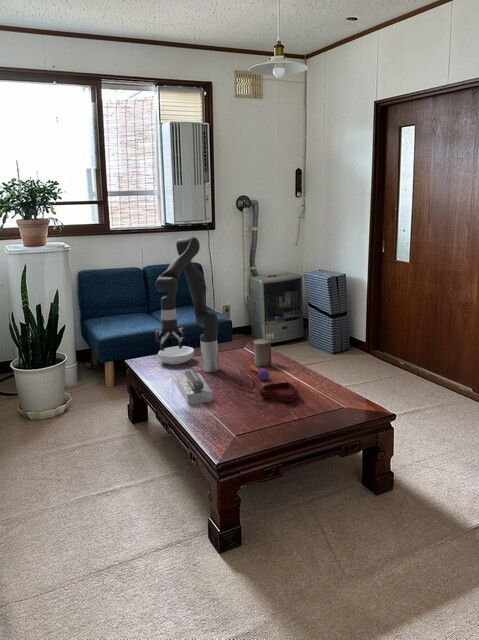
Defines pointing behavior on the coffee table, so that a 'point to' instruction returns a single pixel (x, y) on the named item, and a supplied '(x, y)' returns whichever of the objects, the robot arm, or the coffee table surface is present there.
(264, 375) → the kendama
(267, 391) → the ashtray
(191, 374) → the bar
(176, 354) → the serving bowl
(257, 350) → the pillar candle
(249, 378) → the coffee table surface
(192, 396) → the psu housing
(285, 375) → the coffee table surface
